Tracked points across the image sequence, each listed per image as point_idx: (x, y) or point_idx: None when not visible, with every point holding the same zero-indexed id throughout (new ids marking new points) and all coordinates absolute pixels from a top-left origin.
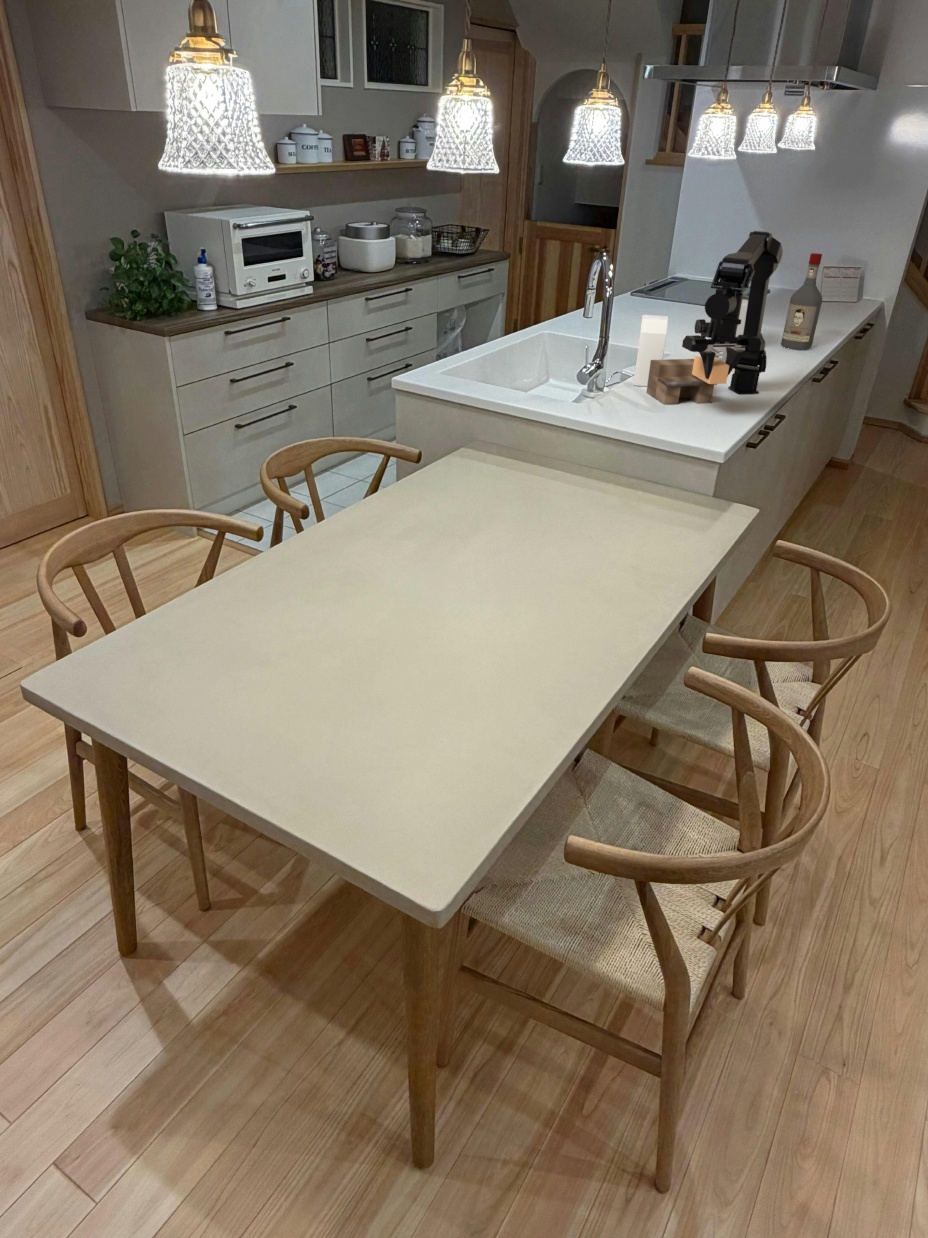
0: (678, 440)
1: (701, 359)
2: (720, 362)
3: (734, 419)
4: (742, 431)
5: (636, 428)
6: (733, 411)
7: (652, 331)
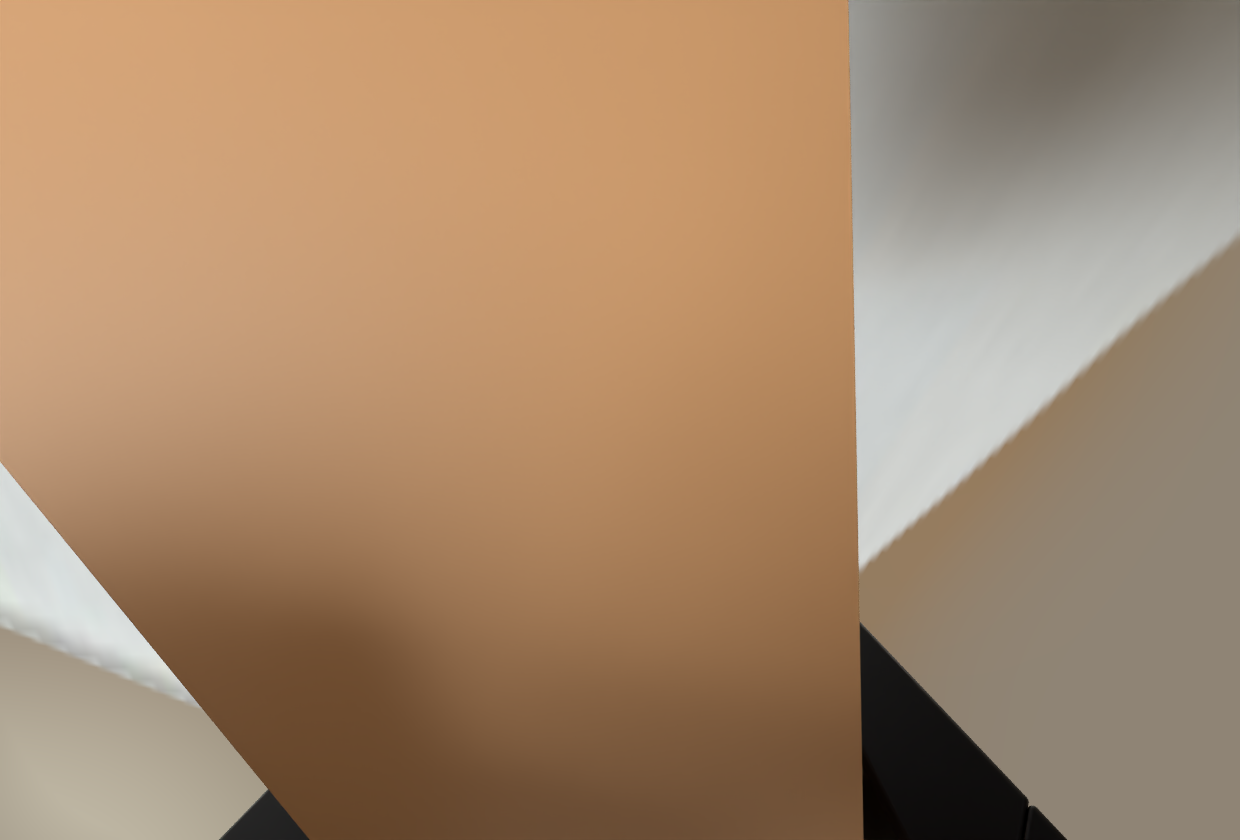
0: None
1: (67, 483)
2: (747, 806)
3: (864, 380)
4: None
5: (87, 582)
6: (1012, 97)
7: None
